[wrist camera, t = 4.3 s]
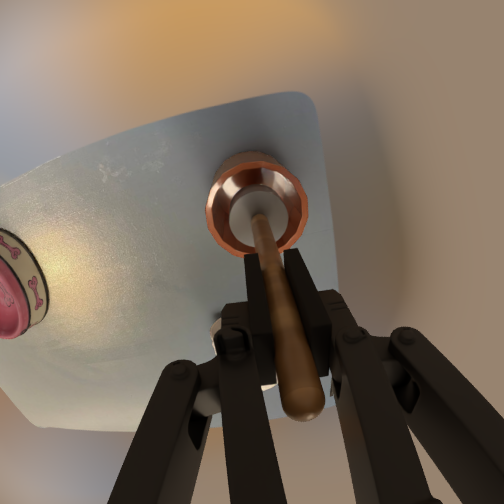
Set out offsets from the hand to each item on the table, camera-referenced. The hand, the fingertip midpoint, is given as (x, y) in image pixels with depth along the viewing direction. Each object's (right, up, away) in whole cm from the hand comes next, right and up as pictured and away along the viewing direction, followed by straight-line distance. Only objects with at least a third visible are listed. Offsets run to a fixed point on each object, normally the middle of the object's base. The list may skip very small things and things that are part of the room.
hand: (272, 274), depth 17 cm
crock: (-1, +9, +20) cm, 22 cm away
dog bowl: (-42, -3, +23) cm, 48 cm away
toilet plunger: (-1, +5, +11) cm, 12 cm away
